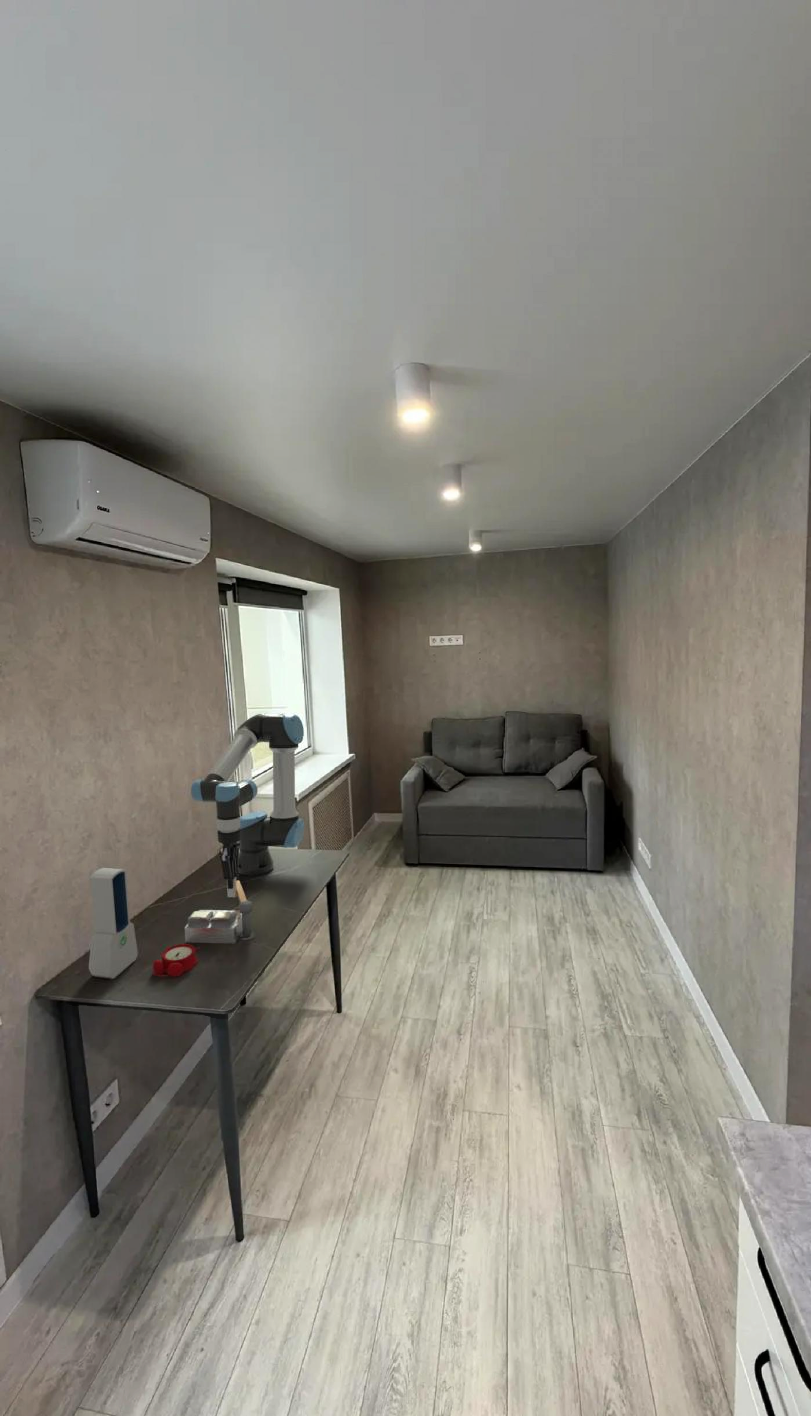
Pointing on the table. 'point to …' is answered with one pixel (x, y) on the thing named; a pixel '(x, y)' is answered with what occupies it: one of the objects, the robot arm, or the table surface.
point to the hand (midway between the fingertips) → (232, 896)
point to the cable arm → (244, 910)
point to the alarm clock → (176, 960)
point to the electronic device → (111, 924)
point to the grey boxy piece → (215, 927)
